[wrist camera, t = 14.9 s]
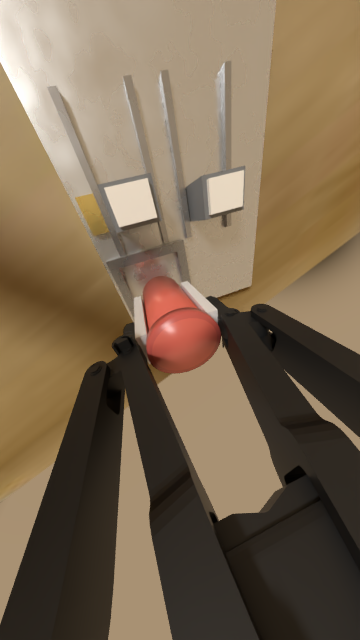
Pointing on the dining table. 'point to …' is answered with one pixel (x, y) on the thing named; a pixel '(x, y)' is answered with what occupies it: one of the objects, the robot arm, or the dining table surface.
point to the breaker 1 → (131, 202)
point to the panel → (149, 121)
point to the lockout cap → (177, 328)
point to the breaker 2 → (216, 194)
